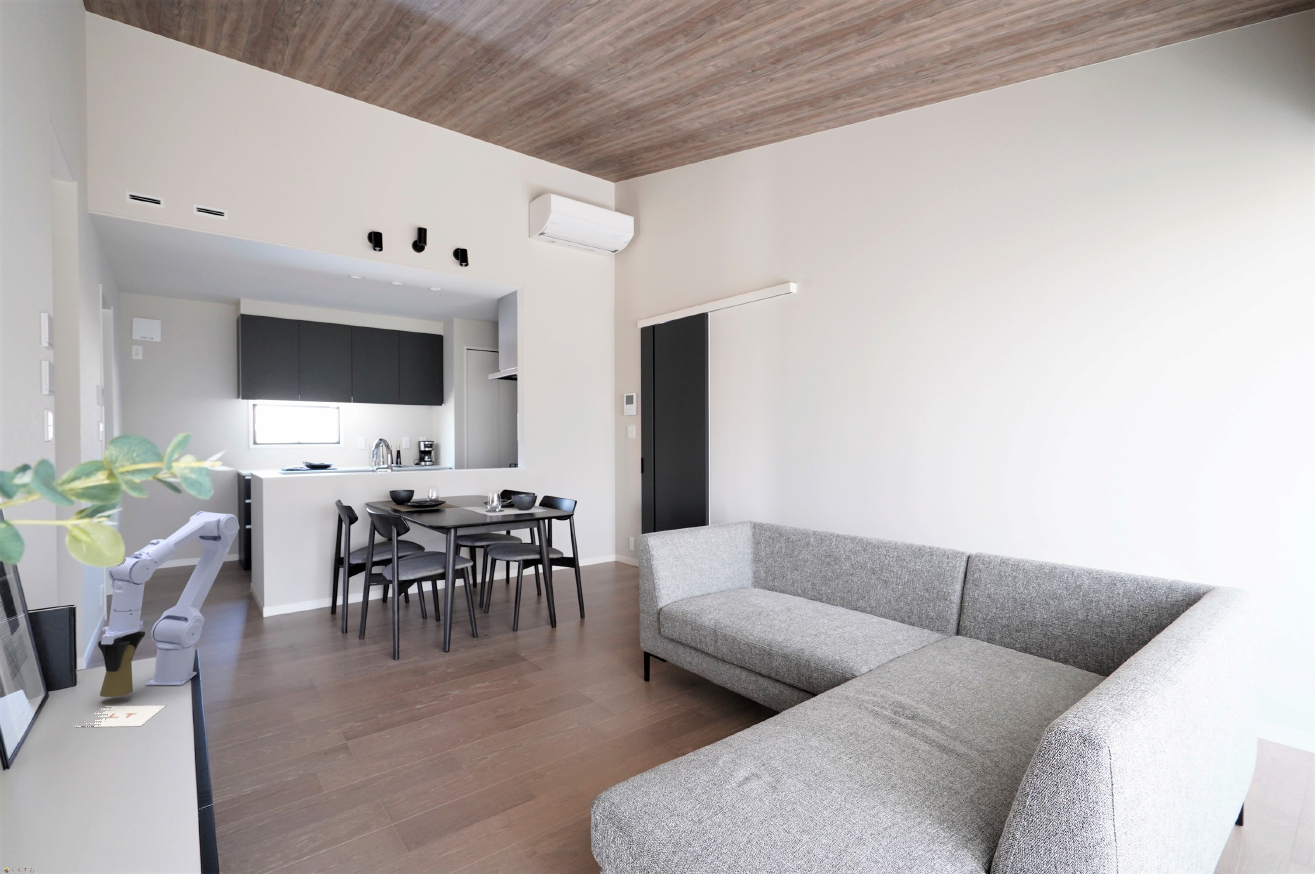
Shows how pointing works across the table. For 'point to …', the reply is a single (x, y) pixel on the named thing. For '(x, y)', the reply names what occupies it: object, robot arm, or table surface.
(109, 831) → the table surface
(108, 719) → the card
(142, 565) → the robot arm
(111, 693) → the olive knobbed shaker
